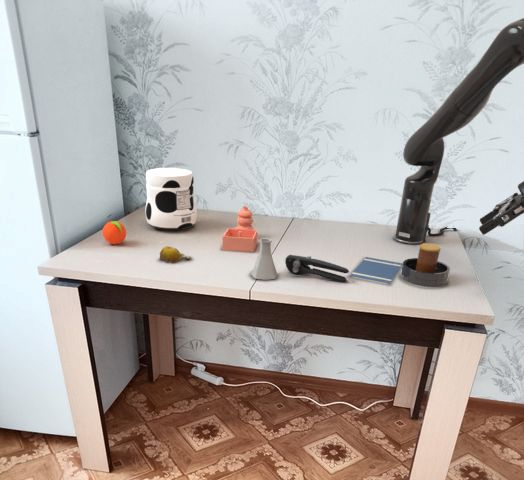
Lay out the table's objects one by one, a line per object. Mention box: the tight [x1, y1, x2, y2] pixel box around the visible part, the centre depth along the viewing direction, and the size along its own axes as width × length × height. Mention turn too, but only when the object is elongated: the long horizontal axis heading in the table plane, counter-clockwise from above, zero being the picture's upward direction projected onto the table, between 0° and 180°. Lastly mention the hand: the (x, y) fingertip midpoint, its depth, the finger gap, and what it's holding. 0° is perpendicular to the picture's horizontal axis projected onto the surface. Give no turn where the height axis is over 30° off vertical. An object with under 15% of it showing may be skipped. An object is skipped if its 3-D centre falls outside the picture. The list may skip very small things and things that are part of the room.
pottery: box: [222, 205, 258, 253], centre depth 159 cm, size 18×10×10 cm, turn 173°
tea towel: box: [349, 256, 403, 285], centre depth 143 cm, size 18×11×1 cm, turn 155°
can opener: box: [285, 254, 350, 283], centre depth 136 cm, size 18×7×6 cm, turn 69°
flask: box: [250, 237, 278, 281], centre depth 134 cm, size 7×7×10 cm
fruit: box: [159, 245, 191, 263], centre depth 144 cm, size 8×8×4 cm
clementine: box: [102, 220, 127, 245], centre depth 153 cm, size 8×7×7 cm
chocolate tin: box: [415, 242, 442, 273], centre depth 137 cm, size 5×5×9 cm
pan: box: [400, 257, 451, 288], centre depth 138 cm, size 12×12×4 cm
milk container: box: [144, 167, 198, 231], centre depth 169 cm, size 17×17×18 cm
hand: (481, 227), depth 128 cm, fingers open, 8 cm apart
